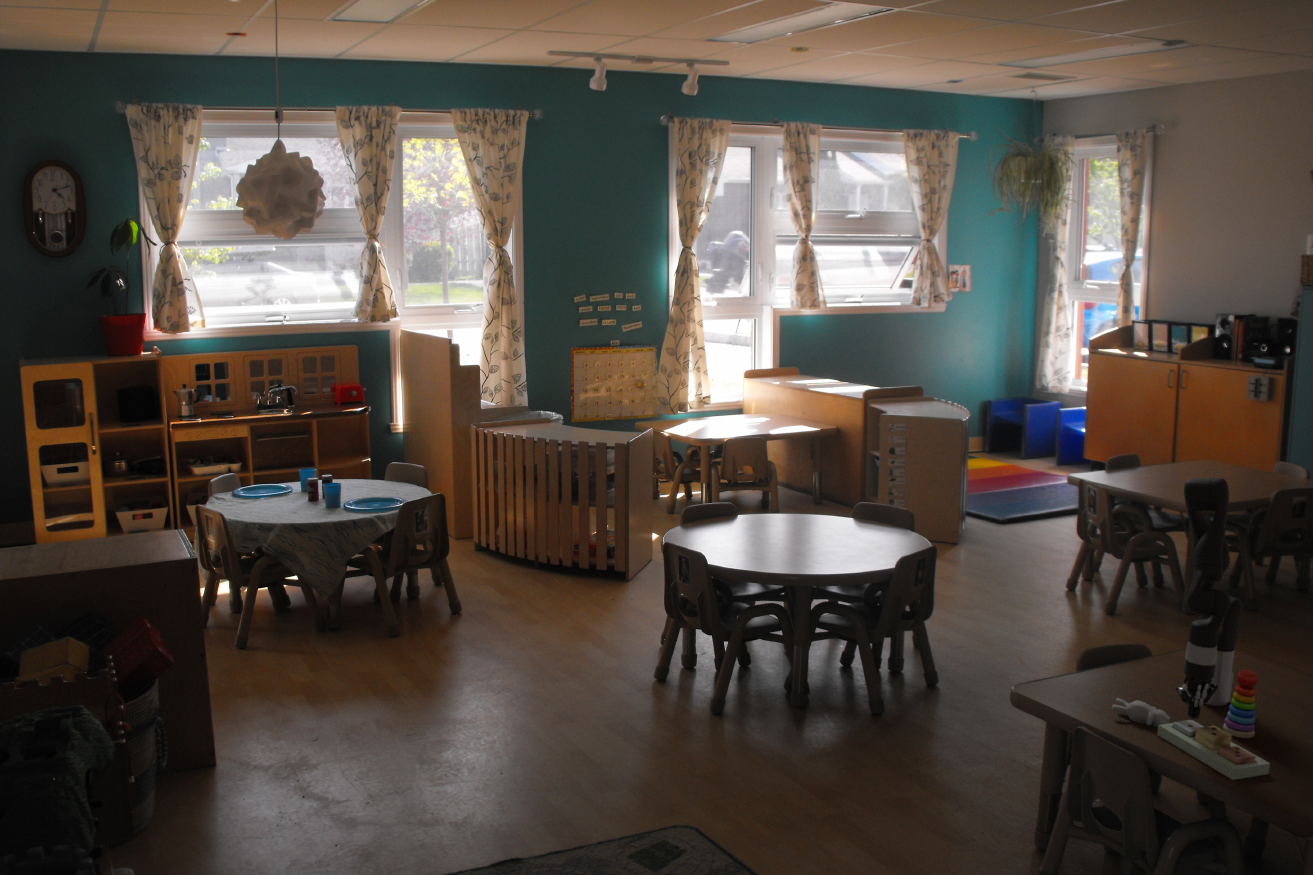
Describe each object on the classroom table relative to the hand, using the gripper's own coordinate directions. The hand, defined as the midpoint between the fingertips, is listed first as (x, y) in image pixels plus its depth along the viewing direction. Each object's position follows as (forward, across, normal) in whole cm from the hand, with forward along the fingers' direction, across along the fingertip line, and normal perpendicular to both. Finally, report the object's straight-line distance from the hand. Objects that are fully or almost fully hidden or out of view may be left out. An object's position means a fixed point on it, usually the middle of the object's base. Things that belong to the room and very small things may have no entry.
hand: (1193, 717), depth 296 cm
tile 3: (+6, +1, +16) cm, 17 cm away
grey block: (+6, +1, 0) cm, 7 cm away
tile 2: (+4, +1, +8) cm, 9 cm away
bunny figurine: (+7, +4, -14) cm, 17 cm away
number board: (+7, +1, +8) cm, 10 cm away
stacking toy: (+7, -17, 0) cm, 19 cm away
